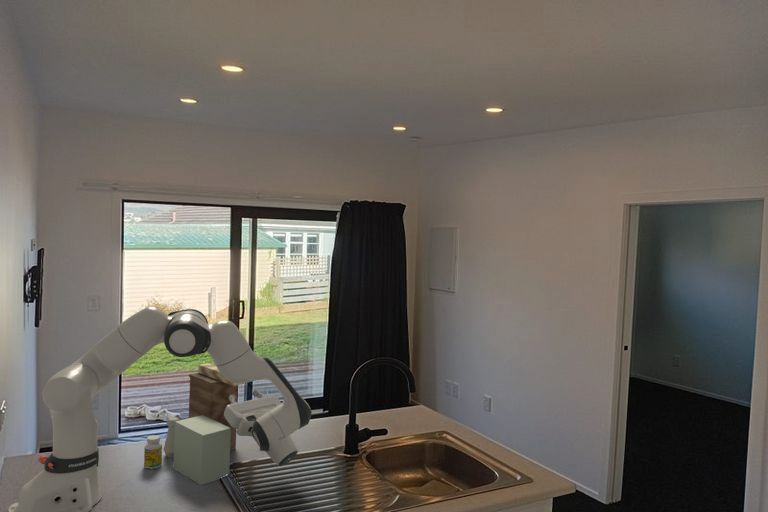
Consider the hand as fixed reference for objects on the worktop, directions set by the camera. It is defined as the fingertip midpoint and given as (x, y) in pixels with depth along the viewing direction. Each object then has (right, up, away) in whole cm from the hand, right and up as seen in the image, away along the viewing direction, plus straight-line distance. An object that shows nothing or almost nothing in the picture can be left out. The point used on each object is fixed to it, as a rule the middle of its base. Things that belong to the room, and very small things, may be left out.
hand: (243, 393), depth 189 cm
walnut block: (-15, -22, +13) cm, 30 cm away
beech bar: (-11, +3, +9) cm, 14 cm away
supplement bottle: (-28, -23, -6) cm, 37 cm away
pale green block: (-12, -23, -9) cm, 27 cm away
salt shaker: (-25, -22, +3) cm, 34 cm away
